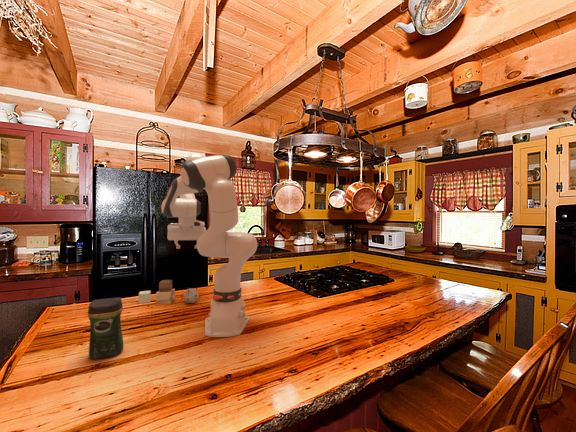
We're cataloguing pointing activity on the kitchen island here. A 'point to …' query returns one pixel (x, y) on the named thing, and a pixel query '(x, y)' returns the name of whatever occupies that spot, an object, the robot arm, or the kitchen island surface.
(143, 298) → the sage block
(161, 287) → the walnut block
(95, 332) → the coffee jar
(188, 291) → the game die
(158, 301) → the oak base block
